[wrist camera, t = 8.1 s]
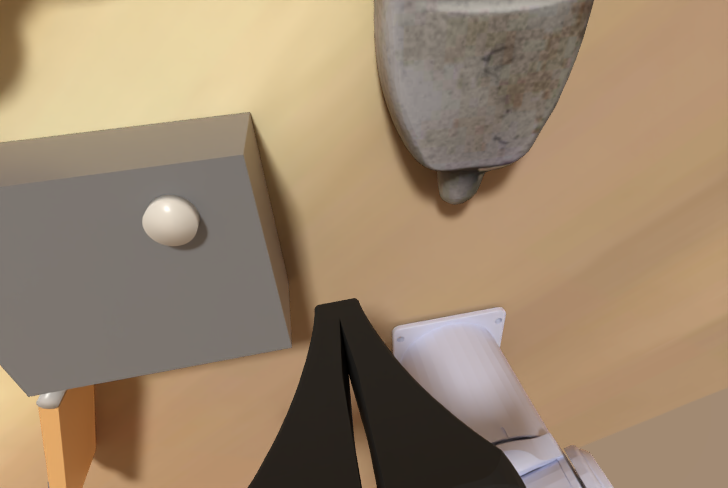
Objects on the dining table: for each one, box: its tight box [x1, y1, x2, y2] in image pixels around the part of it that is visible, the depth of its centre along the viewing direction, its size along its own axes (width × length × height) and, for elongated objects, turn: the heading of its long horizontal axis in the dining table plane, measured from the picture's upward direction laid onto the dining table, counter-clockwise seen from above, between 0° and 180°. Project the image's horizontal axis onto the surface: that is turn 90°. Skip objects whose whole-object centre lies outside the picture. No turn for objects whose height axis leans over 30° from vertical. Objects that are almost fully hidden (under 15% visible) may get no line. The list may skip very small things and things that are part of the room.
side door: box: [36, 385, 96, 488], centre depth 24 cm, size 2×12×5 cm, turn 162°
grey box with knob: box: [0, 112, 292, 397], centre depth 18 cm, size 10×13×6 cm
